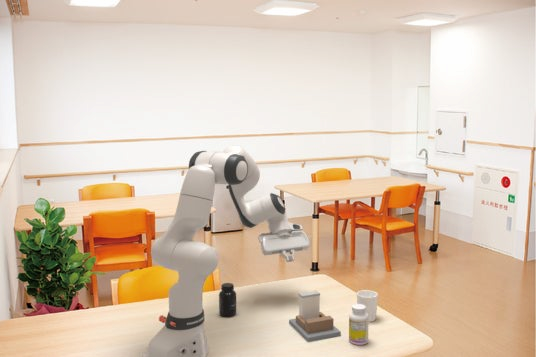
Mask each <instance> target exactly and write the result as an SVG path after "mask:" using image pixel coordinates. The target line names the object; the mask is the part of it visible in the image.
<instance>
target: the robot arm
mask: <svg viewBox="0 0 536 357" xmlns="http://www.w3.org/2000/svg"><path fill="white" fill-rule="evenodd" d="M260 174H261V172H260V169H259V166H258V164H257V163H256V161H255V159H254V158H253V157H252V156H251V155H250V154H249V153H248V152H247V151H246V150H245V149H244V148H243V147H241V145H240V146H239V145H229V146H227V147H226V148H225V149H224V150H223V151H218V150H217V151H215V150H214V151H213V150H211V151H209V150H208V151H207V150H199V151H197V152H195V153H193V155H191V157H190V159H189V163H188V170H187V172H186V174H185V177H184V179H183V183H182V185H181V189H180V193H179V196H178V202H177V206H176V209H175V214H174V217H173V220H172V221H171V224H170V225H169V226H168V228H167V230H166V231H165V232H164V233H163V234H162V235H160V237H157V238H156V239H155V241H153V243H152V245H151V248H150V256H151V259H152V261H153V263H155V264H156V265H157V266H160V267H162V268H163V269H167V270H171V271H173V272H174V271H175V272H177V274H178V279H177V282H176V283H174V284H173V285H171V286H170V288H169V290H168V295H167V296H168V312H167V316H164V315H160V316H159V317H158V321H159V322H161V323H162V324H163V323H164V325H163V326H162V327H161V329H160V330H159V331H158V332H157V333H156V335H154V336H153V338H152V339H151V340H150V341H149V344H148V350H147V353H144V354H143V355H141V357H207V355H208V353H209V350H210V348H209V345H208V343H207V338H206V333H205V328H204V327H205V325H204V322H205V311H204V308H203V290H204V286H205V282H206V280H207V278H208V277H209V276H210V275H212V274H213V272H215V271H216V269H217V267H218V263H219V254H218V251H217V250H216V249H215V247H213V246H211V245H209V244H207V243H205V242H202V241H198V240H194V237H195V235H196V234H197V233H198V231H199V230H200V229H203V228H205V226H207V225H208V224H209V219H210V215H211V211H212V205H213V201H214V196H215V190H216V189H215V186H216V185H217V184H218V185H227V186H228V192H229V195H230V198H231V200H232V202H233V204H234V207H235V209H236V211H237V215H238V219H239V221H240V223H241V224H242V226H244V227H246V228H249V229H253V228H255V226H256V227H257V226H258V225H260V224H262V223H264V222H267V223H268V231H269V232H265V233H261V234H259V235H258V242H259V243H260V248H261V253H262V255H264V256H272V255H278V254H280V255H281V257H282V258H284V259H285V262H286V263H292V262H294V261H295V257H294V254H295V252H302V251H308V249H309V248H310V247H311V242H310V240H309V238H308V235H307V234H306V232H305V231H304V230H303V228H304V227H303V225H301V224H297V223H292V222H290V221H289V219H288V218H287V213H286V207H285V204H284V201H283V199H282V197H281V196H280V195H278V194H276V193H272V192H271V193H267V194H265V195H263V196H260V197H258V198H256V199H254V200H252V201H249V202H245V200H244V197H245V195H247V194H248V193H249V192H250V191H252V190H253V189H254V188H255V187H256V186H257V185H258V183H259V180H260V177H261V175H260ZM287 253H289V255H288V254H287Z"/></svg>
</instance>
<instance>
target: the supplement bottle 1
mask: <svg viewBox="0 0 536 357" xmlns="http://www.w3.org/2000/svg"><path fill="white" fill-rule="evenodd" d="M234 287H235V286H234V283H231V282H224V283H222V284H221V291H219V294H218V309H219V310H218V311H219V312H218V313H219V315H220V316H221V317H225V318H231V317H234V316H235V315H237V292H236V291H235V290H234V289H235V288H234Z"/></svg>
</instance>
